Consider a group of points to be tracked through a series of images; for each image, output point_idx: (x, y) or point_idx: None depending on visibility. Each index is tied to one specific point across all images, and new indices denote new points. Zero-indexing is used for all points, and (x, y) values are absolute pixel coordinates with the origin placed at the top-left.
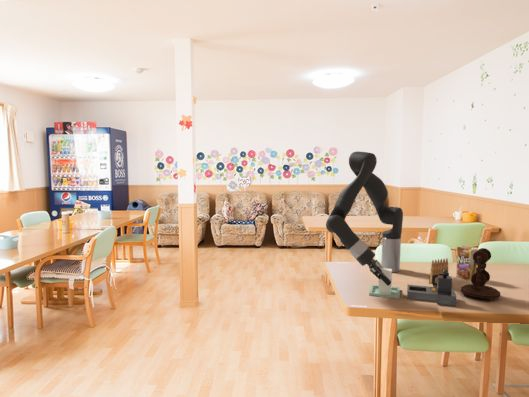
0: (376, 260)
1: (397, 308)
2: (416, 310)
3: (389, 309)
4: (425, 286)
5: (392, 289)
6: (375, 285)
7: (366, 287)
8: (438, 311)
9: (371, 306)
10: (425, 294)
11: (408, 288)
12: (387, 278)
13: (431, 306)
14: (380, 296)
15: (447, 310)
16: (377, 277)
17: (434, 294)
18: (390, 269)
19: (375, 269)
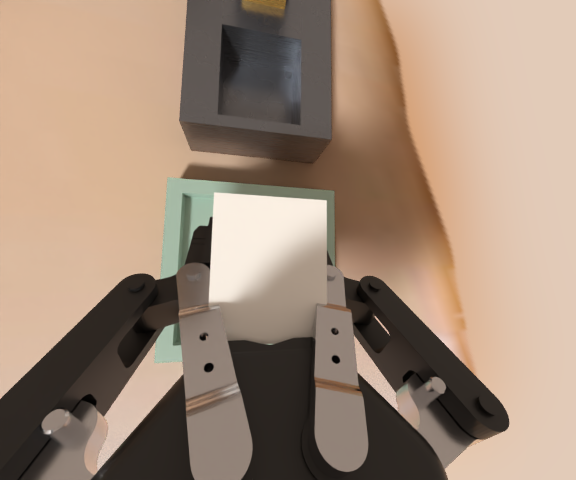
0: (197, 478)
1: (416, 211)
2: (411, 140)
3: (438, 242)
4: (191, 18)
5: (183, 224)
6: (165, 333)
7: (132, 387)
8: (392, 62)
9: (433, 318)
10: (328, 57)
11: (270, 126)
12: None
13: (346, 74)
14: None
15: (369, 26)
16: (378, 332)
17: (329, 13)
18: (252, 209)
19: (472, 385)
